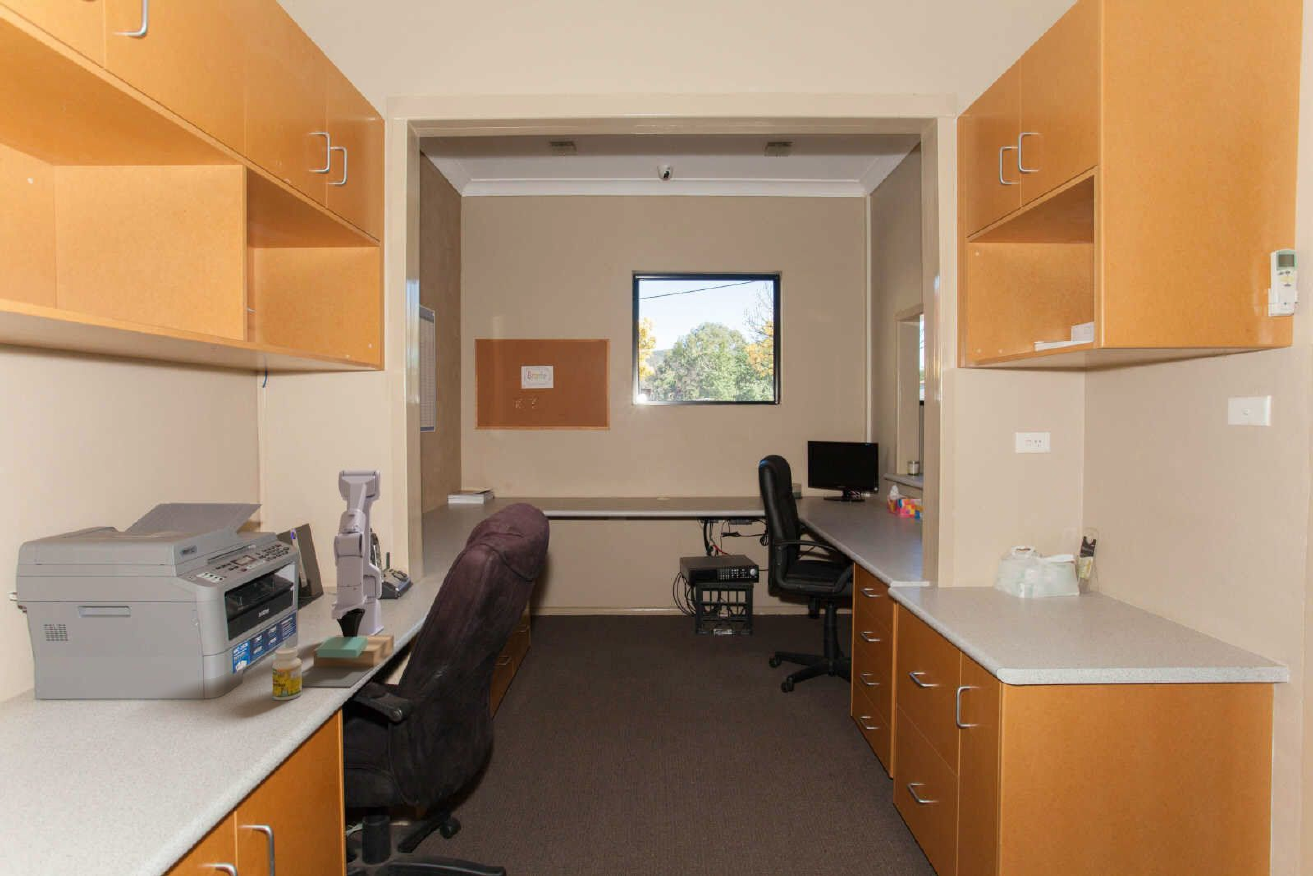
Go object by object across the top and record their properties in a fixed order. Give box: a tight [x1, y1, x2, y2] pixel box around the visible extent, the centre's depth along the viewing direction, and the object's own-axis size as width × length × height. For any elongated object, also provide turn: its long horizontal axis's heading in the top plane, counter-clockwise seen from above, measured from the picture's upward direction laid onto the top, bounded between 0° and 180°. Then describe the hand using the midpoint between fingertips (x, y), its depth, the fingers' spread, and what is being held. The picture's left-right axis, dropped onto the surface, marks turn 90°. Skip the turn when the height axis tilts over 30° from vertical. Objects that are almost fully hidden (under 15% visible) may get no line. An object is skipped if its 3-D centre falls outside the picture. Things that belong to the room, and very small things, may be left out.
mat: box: [302, 665, 375, 689], centre depth 162 cm, size 12×14×1 cm
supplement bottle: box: [271, 647, 303, 701], centre depth 151 cm, size 5×5×10 cm
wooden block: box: [313, 634, 395, 669], centre depth 174 cm, size 12×14×4 cm
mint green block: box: [316, 636, 368, 658], centre depth 167 cm, size 6×9×2 cm, turn 89°
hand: (350, 641), depth 171 cm, fingers closed
